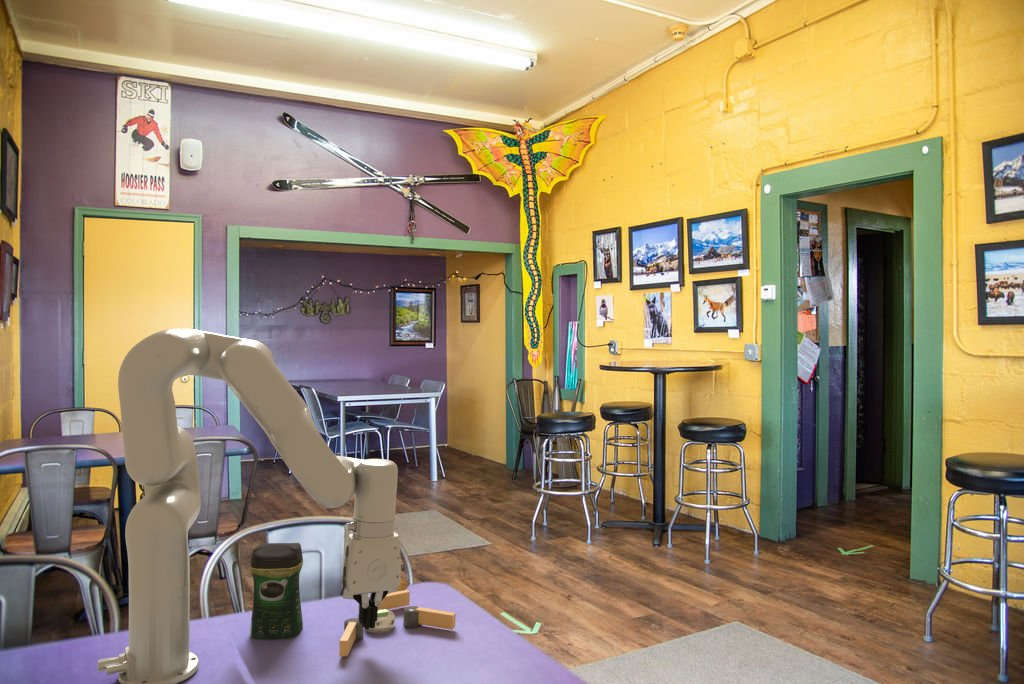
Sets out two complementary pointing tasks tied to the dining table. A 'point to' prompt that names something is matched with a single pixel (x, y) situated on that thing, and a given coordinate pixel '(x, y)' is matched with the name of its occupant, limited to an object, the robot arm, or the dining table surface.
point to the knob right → (428, 618)
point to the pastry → (403, 585)
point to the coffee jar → (276, 591)
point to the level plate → (383, 622)
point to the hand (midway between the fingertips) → (367, 625)
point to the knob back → (394, 600)
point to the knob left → (350, 635)
